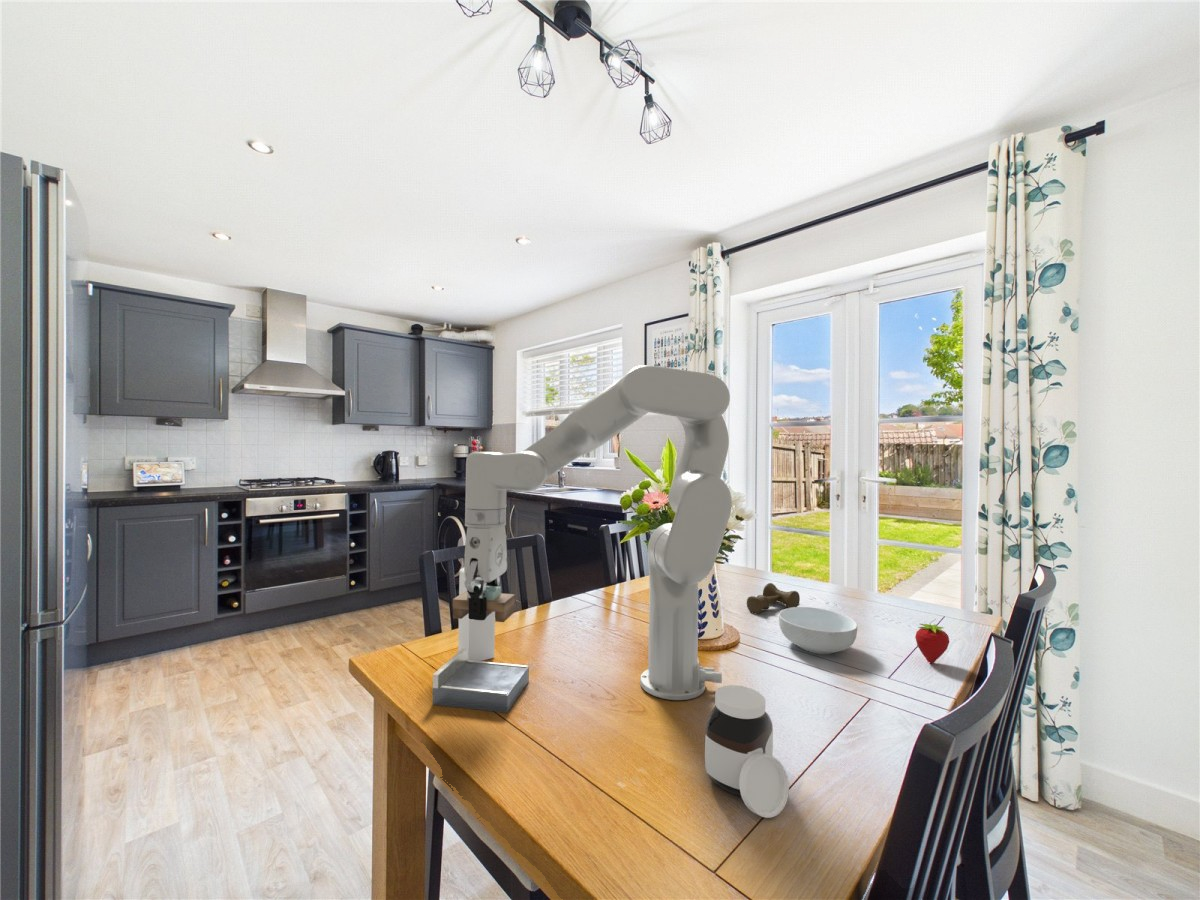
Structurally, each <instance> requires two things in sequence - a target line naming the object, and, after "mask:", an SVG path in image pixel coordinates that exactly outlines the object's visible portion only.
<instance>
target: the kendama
mask: <svg viewBox="0 0 1200 900" xmlns="http://www.w3.org/2000/svg"><path fill="white" fill-rule="evenodd" d="M800 599H801V597H800V593H799V592H798V591H797V590H791V591H783V590H780V589H779V588H777V586H776V584H774V583H773V582H768V583H767V584H765V586H764V587H763V590H762V594H758V595H757V596H755V595H754V596H753V595H750V596H749V597H747V599H746V608H747V610H748V611H749V612H750V613H752V612H753V613H752V614H754V613H756V614H755V615H759V614H761V612H762V611H767V610H769V609H770V606H771V605H772V604H773V603H775V602H779V603H782V604H784V605H785V606H786V607H787V608H792V607H797V606H798V607H799V605H800Z"/></svg>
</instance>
